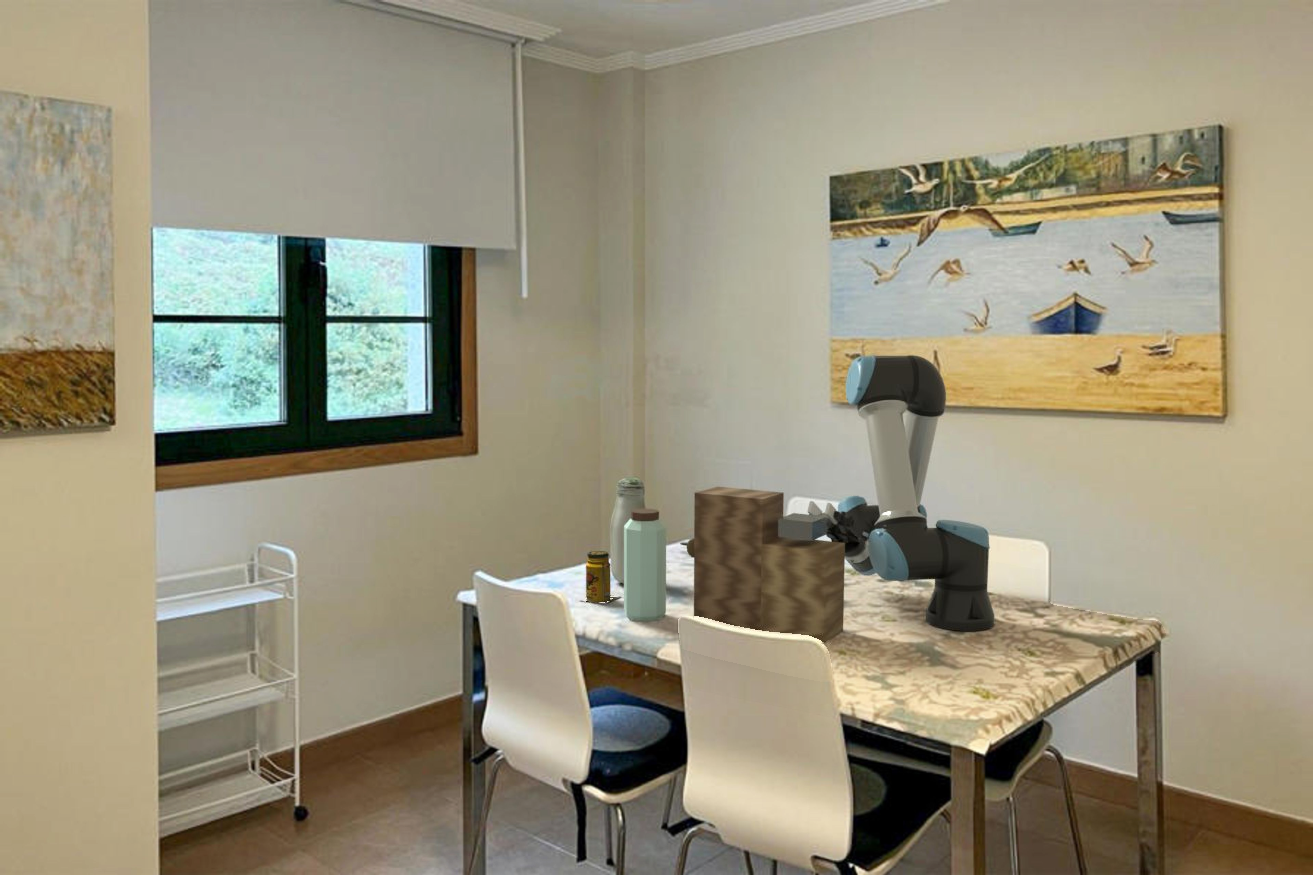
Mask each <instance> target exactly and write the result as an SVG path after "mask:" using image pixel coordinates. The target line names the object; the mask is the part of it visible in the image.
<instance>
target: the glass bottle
mask: <svg viewBox="0 0 1313 875" xmlns="http://www.w3.org/2000/svg"><path fill="white" fill-rule="evenodd" d="M615 492H616V499H615V502H614V508H613V511H612V514H611V520H610V522H609V523H610V524H609V526H610V530H609V532H610V539H609V540H610V542H609V543H610V573H611V575H612V576H613V578H614V580H615V581H617V582H618V583H621V584H624V526H625V524H626V523H627V522H628V521H629V520H630V519H631V510H635V509H647V508H646V505H645V486H644V483H643V481H642V480H641V479H639V478H638V477H624V478H622V479H620V480H619V481H618V482H617V484H616V491H615Z"/></svg>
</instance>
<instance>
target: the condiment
mask: <svg viewBox="0 0 1313 875" xmlns="http://www.w3.org/2000/svg"><path fill="white" fill-rule="evenodd" d="M609 556H610V554H609V552H607V551H604V550H593V551H592V550H591V551H589V552H588V553H587V556H586V558H587V559H586V560H587V562H586V565H585V598H587V599H586V600H587V601H589V602H595V603H594V604H600V605H606V604H609V603H608V602H607V601H611V602H614V601H615V600H617V599H619V598H621V597H622V595H617V596H618V597H610V596H612V595H611V562H610V558H609ZM610 598H613V599H612V600H610ZM579 601H580V602H585V603H587V602H586V601H583V599H581V600H579ZM589 602H588V603H589ZM599 602H605V603H599Z"/></svg>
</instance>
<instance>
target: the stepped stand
mask: <svg viewBox="0 0 1313 875" xmlns="http://www.w3.org/2000/svg"><path fill="white" fill-rule="evenodd" d="M784 494H785V493H784V492H781V491H770V490H759V489H747V488H736V487H725V486H714V487H712V488H707V489H702V490H699V491H696V492H694V502H693V503H694V510H693V511H694V513H693V514H694V516H693V517H694V519H693V520H694V521H693V522H694V523H693V524H694V525H693V526H694V528H693V531H694V533H693V536H694V537H693V538H694V557H693V617H694V616H699V617H704V618H708V619H712V620H715V621H719V622H723V623H726V624H730V625H734V626H740V627H744V628H750V629H755V630H762V631H769V632H780V633H792V634H801V635H809V636H812V637H814V638H817V639H819V640H821V641H822V642H824V644H826V643H827V642H829V641H831V640H832V639H833V638H835V637H837V636H838V635H840V634H842V633H843V632H844V612H845V610H844V608H845V607H844V606H845V604H844V602H845V567H846V566H845V560H846V559H845V543H841V542H832V541H831V540H829V541H828V540H823V539H822V540H821V539H815V540H812V541H811V540H802V539H794V538H785V537H778V519H779V518H782V517H784V503H785V502H784V500H785V499H784V496H785V495H784Z"/></svg>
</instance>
